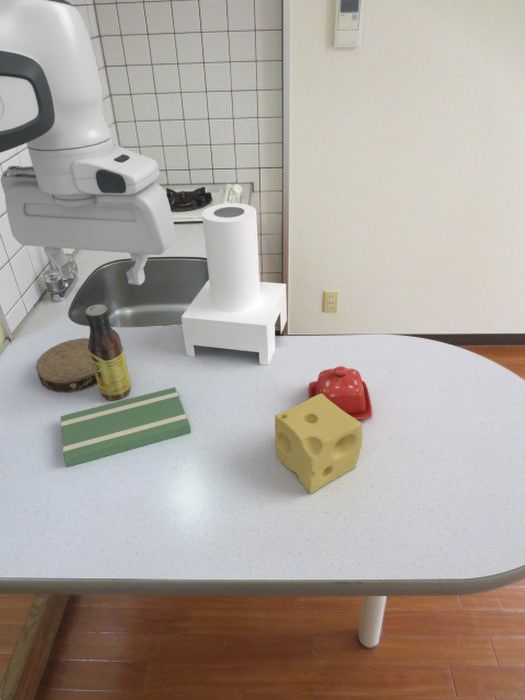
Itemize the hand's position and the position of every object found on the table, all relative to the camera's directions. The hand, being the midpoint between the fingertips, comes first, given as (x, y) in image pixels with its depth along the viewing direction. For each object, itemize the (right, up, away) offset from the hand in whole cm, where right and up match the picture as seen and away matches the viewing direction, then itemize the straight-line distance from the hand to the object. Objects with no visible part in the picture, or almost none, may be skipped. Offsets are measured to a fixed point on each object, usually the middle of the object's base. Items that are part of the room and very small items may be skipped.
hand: (103, 279), depth 66 cm
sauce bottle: (-10, -18, +41) cm, 46 cm away
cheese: (+29, -28, +23) cm, 47 cm away
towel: (-5, -23, +32) cm, 40 cm away
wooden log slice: (-20, -13, +48) cm, 54 cm away
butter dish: (+35, -19, +35) cm, 53 cm away
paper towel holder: (+15, -6, +56) cm, 58 cm away
